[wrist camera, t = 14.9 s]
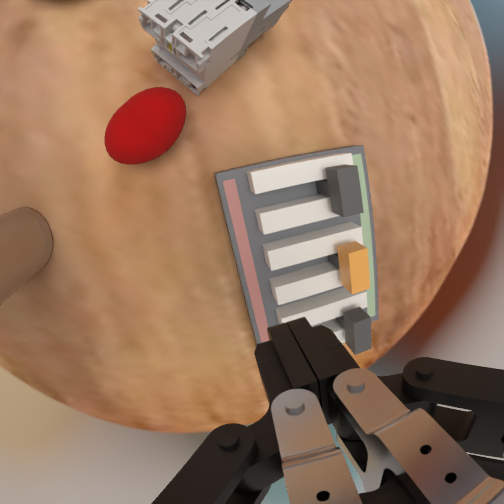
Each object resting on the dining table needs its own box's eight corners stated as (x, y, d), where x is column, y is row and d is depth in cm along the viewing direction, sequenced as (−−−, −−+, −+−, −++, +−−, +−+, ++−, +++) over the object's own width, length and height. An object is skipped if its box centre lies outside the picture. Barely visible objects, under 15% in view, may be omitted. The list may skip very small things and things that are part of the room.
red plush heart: (166, 86, 33) (156, 64, 24) (201, 127, 35) (202, 116, 26) (109, 136, 34) (81, 130, 24) (143, 177, 36) (125, 183, 26)
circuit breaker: (276, 28, 33) (316, -25, 19) (198, 96, 34) (199, 60, 20) (236, -5, 30) (257, -69, 16) (155, 60, 32) (135, 10, 18)
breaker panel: (257, 346, 46) (272, 391, 36) (214, 172, 37) (220, 177, 28) (369, 310, 48) (403, 343, 38) (352, 145, 39) (395, 145, 29)
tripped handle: (328, 272, 40) (352, 294, 34) (323, 236, 39) (348, 253, 32) (344, 267, 41) (370, 288, 34) (340, 232, 39) (367, 247, 32)
